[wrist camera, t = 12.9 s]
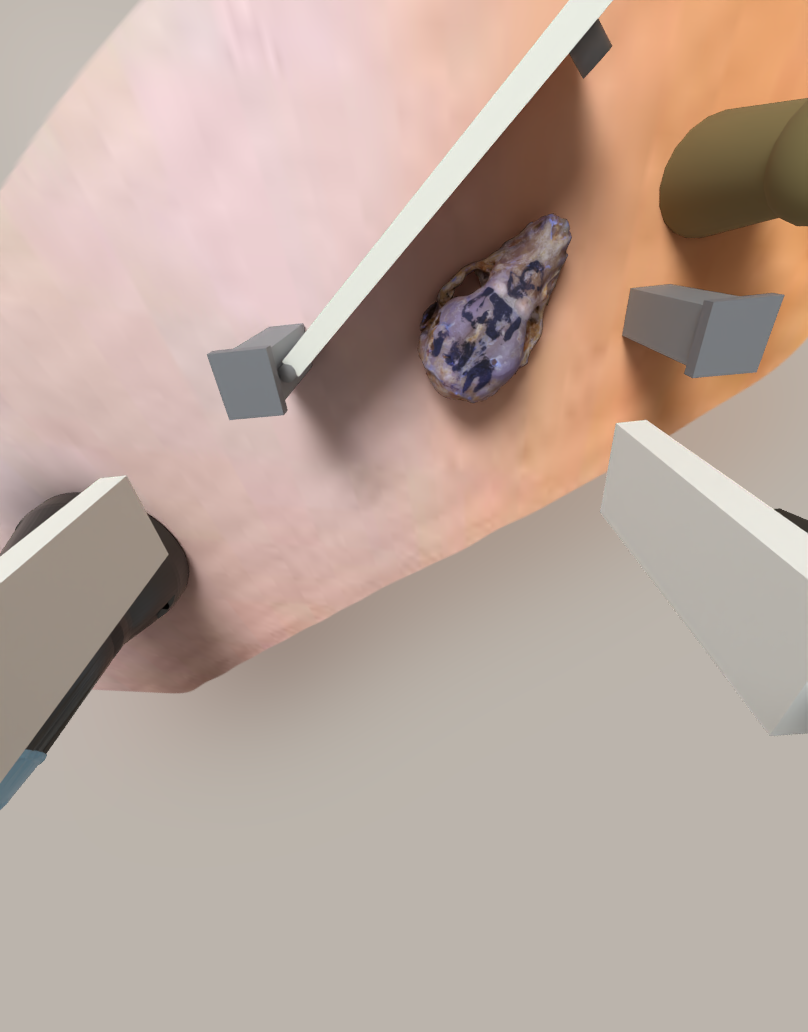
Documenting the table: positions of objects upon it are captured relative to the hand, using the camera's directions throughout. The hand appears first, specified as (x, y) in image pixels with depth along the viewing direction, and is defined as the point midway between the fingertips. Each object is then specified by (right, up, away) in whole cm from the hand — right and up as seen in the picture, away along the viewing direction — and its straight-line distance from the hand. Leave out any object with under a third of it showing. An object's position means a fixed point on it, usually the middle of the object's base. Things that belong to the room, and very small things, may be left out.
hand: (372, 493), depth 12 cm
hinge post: (-7, +12, +19) cm, 24 cm away
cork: (+19, +20, +14) cm, 31 cm away
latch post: (+18, +14, +17) cm, 28 cm away
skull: (+7, +14, +18) cm, 24 cm away
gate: (+2, +18, +15) cm, 23 cm away
